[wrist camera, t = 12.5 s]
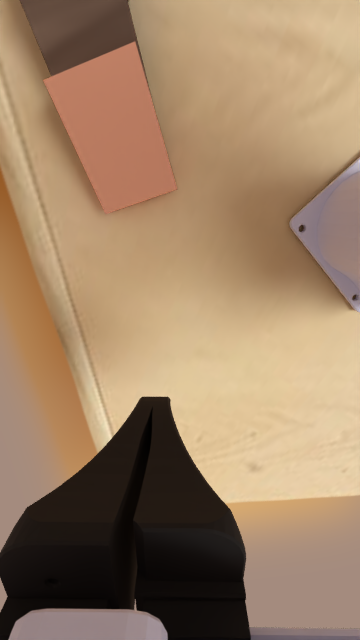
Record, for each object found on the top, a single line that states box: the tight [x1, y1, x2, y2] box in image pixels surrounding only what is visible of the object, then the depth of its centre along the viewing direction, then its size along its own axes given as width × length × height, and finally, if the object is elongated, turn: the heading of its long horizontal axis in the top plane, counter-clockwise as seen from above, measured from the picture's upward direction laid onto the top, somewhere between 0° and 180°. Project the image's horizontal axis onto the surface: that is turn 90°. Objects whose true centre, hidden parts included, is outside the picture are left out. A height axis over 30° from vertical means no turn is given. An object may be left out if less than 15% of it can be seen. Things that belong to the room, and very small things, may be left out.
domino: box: [20, 0, 151, 95], centre depth 15 cm, size 2×5×7 cm
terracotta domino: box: [43, 42, 177, 214], centre depth 16 cm, size 2×5×7 cm
